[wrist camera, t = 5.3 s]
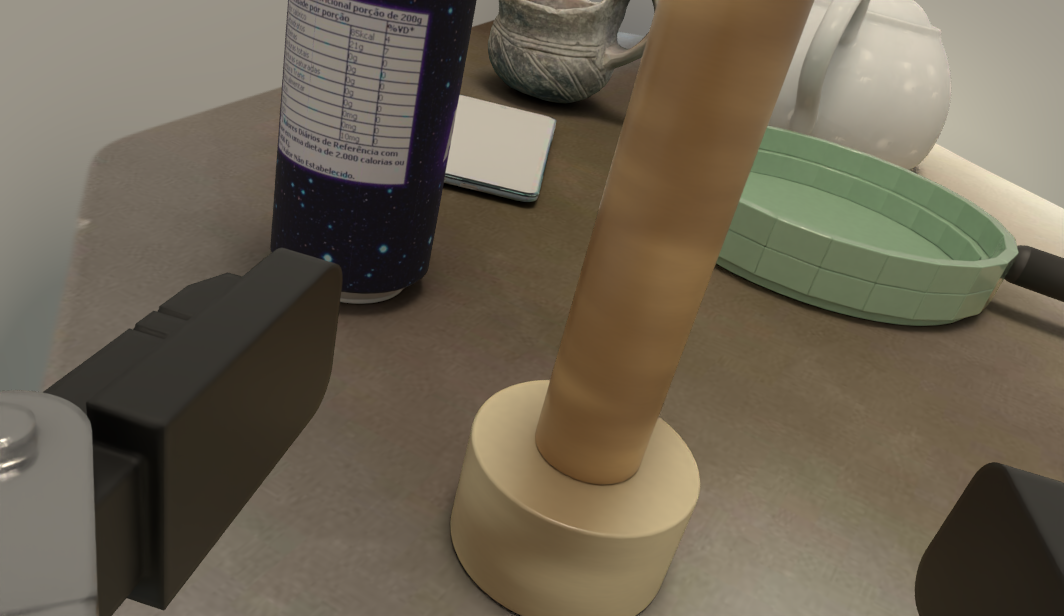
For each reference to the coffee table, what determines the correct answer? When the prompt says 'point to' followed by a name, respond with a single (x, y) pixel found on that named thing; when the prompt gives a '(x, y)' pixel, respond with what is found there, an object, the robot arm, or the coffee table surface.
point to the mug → (559, 46)
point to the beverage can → (367, 135)
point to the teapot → (868, 79)
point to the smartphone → (499, 149)
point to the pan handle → (1038, 272)
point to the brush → (627, 333)
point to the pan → (863, 235)
